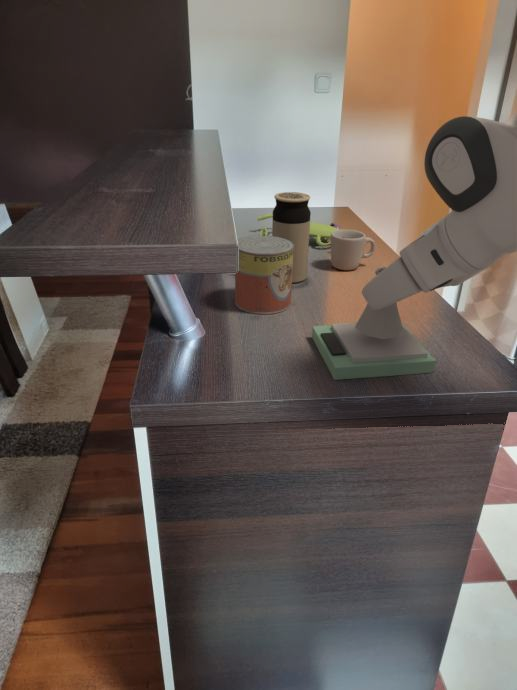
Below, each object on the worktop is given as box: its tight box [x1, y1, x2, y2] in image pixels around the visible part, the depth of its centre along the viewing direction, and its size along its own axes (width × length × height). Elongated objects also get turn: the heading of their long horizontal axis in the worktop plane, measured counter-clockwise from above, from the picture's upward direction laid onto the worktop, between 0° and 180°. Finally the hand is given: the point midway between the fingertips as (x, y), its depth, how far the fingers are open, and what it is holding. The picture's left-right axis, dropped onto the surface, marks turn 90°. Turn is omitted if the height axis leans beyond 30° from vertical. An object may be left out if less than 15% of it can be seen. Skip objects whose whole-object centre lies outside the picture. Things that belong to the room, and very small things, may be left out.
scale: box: [311, 321, 437, 381], centre depth 84 cm, size 16×14×3 cm
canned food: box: [234, 235, 294, 315], centre depth 100 cm, size 11×11×12 cm
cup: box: [330, 229, 376, 271], centre depth 120 cm, size 11×8×8 cm
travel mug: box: [271, 191, 312, 284], centre depth 111 cm, size 8×8×18 cm
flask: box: [355, 266, 403, 339], centre depth 80 cm, size 7×7×10 cm
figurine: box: [257, 212, 341, 247], centre depth 138 cm, size 18×27×6 cm
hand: (379, 298), depth 80 cm, fingers closed on flask, 3 cm apart
